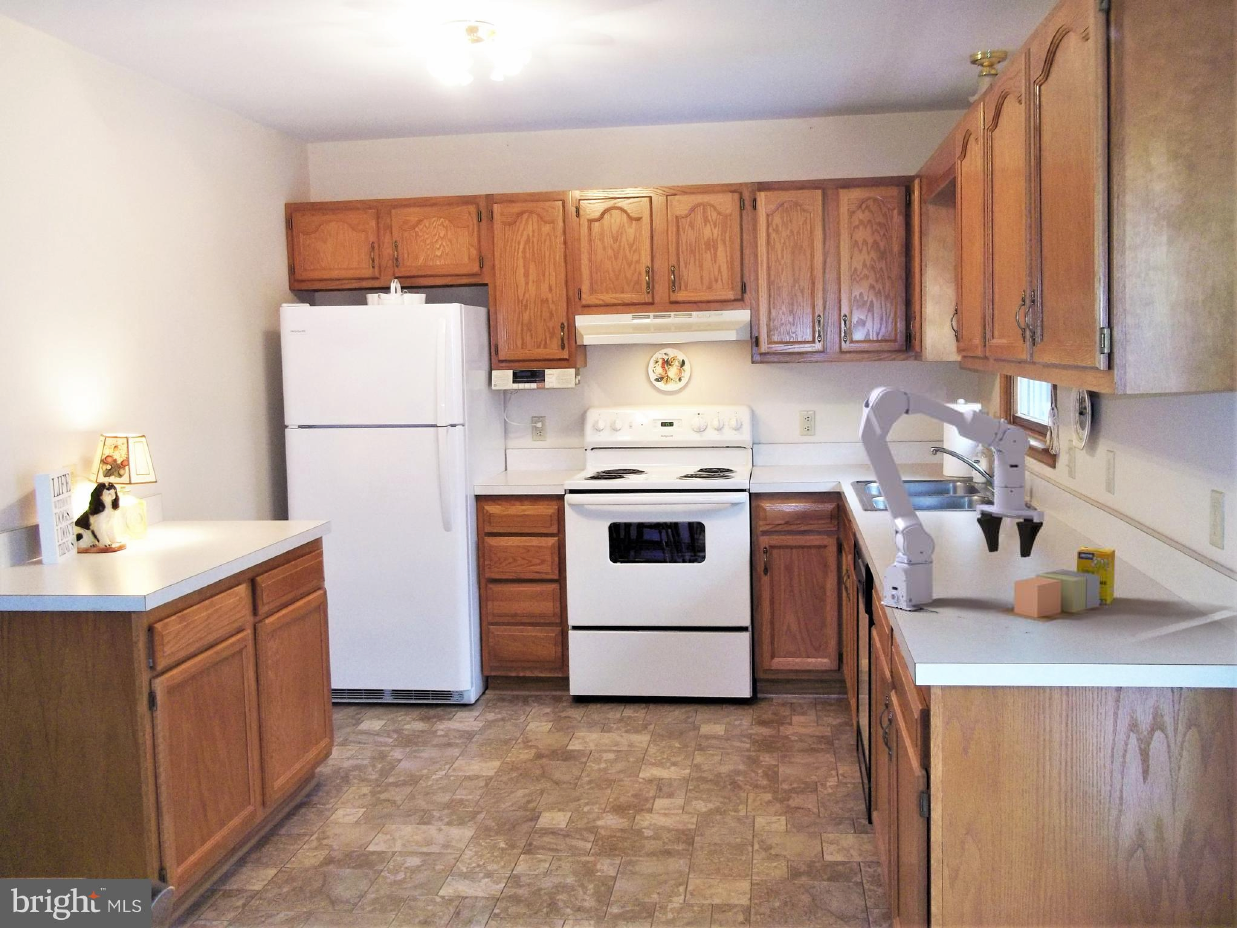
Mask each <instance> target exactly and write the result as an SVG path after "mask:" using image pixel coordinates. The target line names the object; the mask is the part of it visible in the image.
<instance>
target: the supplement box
mask: <svg viewBox="0 0 1237 928" xmlns="http://www.w3.org/2000/svg"><path fill="white" fill-rule="evenodd" d="M1115 560H1116V549H1115V548H1102V547H1101V548H1099V547H1098V548H1097V547H1089V546H1083V547H1081V548H1080V549H1078V550H1077V552H1076V571H1077V572H1083V573H1089V574H1095V575H1100V596H1099V604H1104V605H1109V604H1110V603H1111V602H1112V601H1113V600H1114V599H1115V575H1116V574H1115V571H1116V570H1115V566H1116V565H1115V563H1116V561H1115Z"/></svg>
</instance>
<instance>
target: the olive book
mask: <svg viewBox="0 0 1237 928" xmlns="http://www.w3.org/2000/svg"><path fill="white" fill-rule="evenodd" d="M1035 577H1043V578H1049V579H1055V580H1061V610H1063V611H1068V612H1076V611H1081V610H1085V609H1086V578H1082V577H1076V576H1070V575H1064V574H1058V573H1052V572H1051V571H1048V572H1043V573H1038V574H1035Z"/></svg>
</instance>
